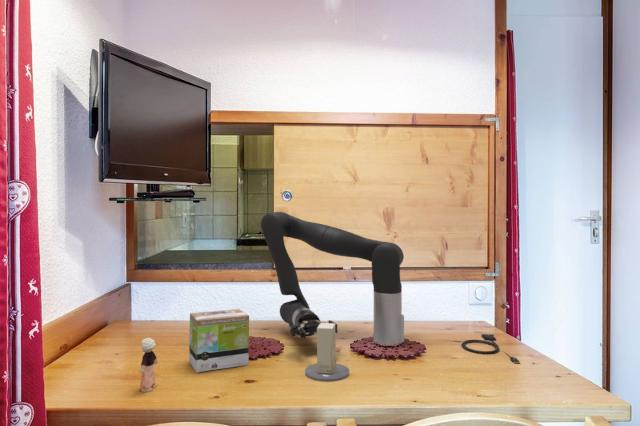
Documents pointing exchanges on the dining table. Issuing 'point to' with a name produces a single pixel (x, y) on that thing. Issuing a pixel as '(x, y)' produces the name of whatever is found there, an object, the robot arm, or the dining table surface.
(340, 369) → the coaster
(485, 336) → the cable
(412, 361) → the dining table surface
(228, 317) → the tea box
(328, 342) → the skincare box
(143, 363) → the grandmother figurine
